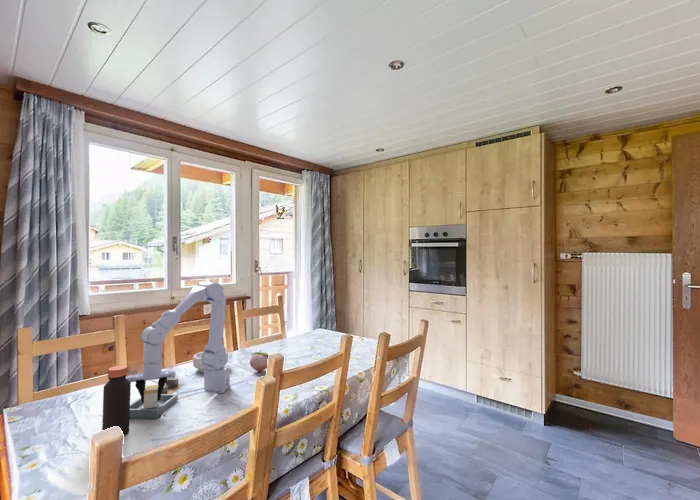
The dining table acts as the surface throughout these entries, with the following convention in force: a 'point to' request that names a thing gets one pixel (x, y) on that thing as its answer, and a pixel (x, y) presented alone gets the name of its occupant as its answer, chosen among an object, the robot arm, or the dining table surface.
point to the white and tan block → (151, 396)
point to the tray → (152, 412)
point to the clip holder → (171, 386)
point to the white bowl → (198, 363)
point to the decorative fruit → (259, 361)
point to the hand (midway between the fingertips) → (151, 400)
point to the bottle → (117, 399)
